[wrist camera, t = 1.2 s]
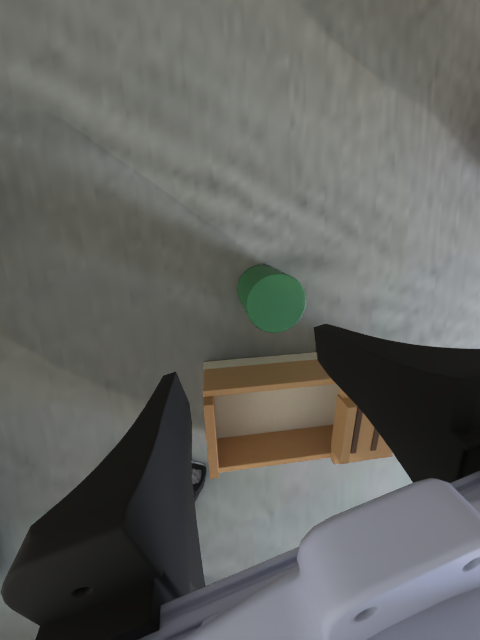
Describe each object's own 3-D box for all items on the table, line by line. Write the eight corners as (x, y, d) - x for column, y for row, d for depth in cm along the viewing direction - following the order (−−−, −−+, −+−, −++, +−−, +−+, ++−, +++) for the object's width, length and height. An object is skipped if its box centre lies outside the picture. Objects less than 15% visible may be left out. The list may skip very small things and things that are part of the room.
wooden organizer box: (368, 347, 26) (423, 384, 20) (358, 415, 29) (401, 467, 23) (203, 361, 24) (202, 407, 18) (209, 433, 27) (210, 495, 21)
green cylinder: (284, 263, 22) (308, 272, 17) (283, 310, 24) (304, 330, 18) (236, 265, 22) (245, 275, 16) (238, 313, 23) (246, 335, 18)
